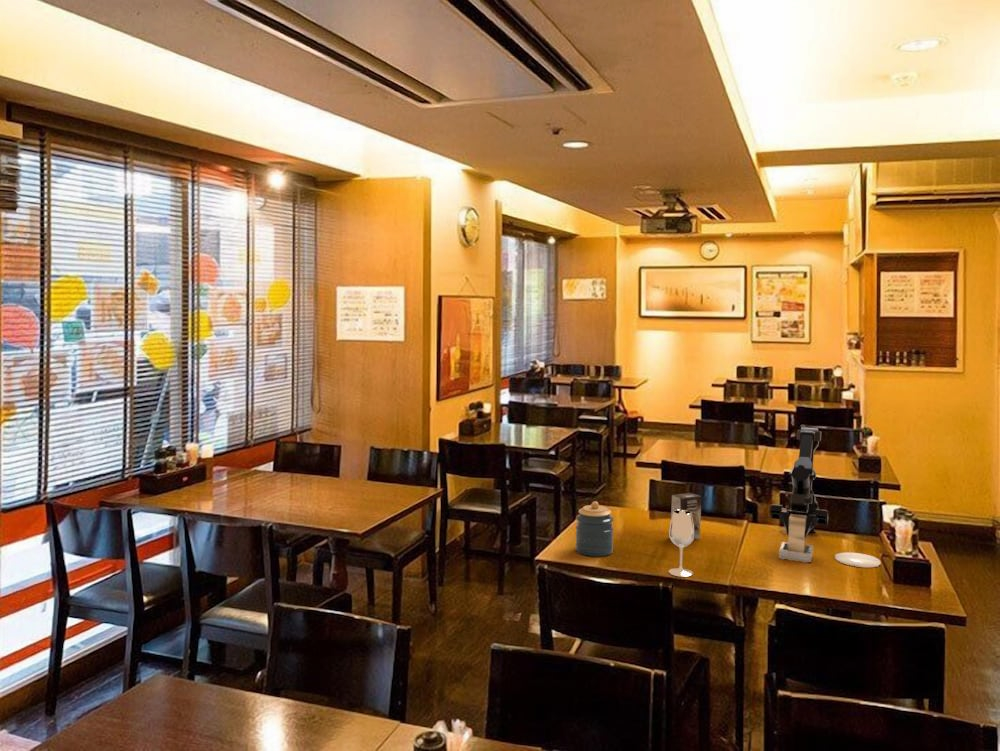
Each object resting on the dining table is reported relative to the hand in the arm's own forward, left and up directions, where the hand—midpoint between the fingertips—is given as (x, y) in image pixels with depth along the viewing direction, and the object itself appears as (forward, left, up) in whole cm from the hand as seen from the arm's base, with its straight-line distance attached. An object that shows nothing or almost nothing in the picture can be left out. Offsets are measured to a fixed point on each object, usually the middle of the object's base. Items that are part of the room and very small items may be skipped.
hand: (796, 535), depth 270 cm
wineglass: (+43, +14, -8) cm, 46 cm away
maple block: (-1, -1, -8) cm, 8 cm away
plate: (-20, +4, -8) cm, 21 cm away
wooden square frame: (-1, -1, -8) cm, 8 cm away
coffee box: (+31, -23, -8) cm, 40 cm away
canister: (+67, -9, -8) cm, 68 cm away
